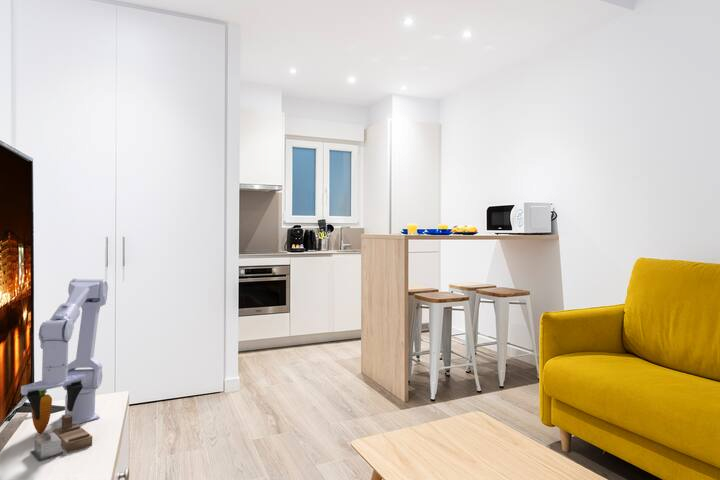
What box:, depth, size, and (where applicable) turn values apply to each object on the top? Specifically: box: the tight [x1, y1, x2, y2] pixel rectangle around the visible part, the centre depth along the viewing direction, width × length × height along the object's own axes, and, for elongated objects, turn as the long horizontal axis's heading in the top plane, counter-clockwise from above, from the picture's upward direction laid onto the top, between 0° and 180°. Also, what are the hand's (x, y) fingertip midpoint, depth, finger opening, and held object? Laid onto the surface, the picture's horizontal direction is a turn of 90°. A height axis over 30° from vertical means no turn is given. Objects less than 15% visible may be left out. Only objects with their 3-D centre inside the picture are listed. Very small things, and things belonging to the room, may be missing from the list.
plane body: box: [52, 414, 93, 453], centre depth 126 cm, size 12×6×6 cm, turn 51°
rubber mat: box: [30, 449, 64, 462], centre depth 119 cm, size 7×6×1 cm
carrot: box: [30, 390, 53, 436], centre depth 130 cm, size 5×5×15 cm
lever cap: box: [33, 432, 62, 459], centre depth 119 cm, size 6×4×4 cm
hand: (53, 414), depth 121 cm, fingers open, 7 cm apart
